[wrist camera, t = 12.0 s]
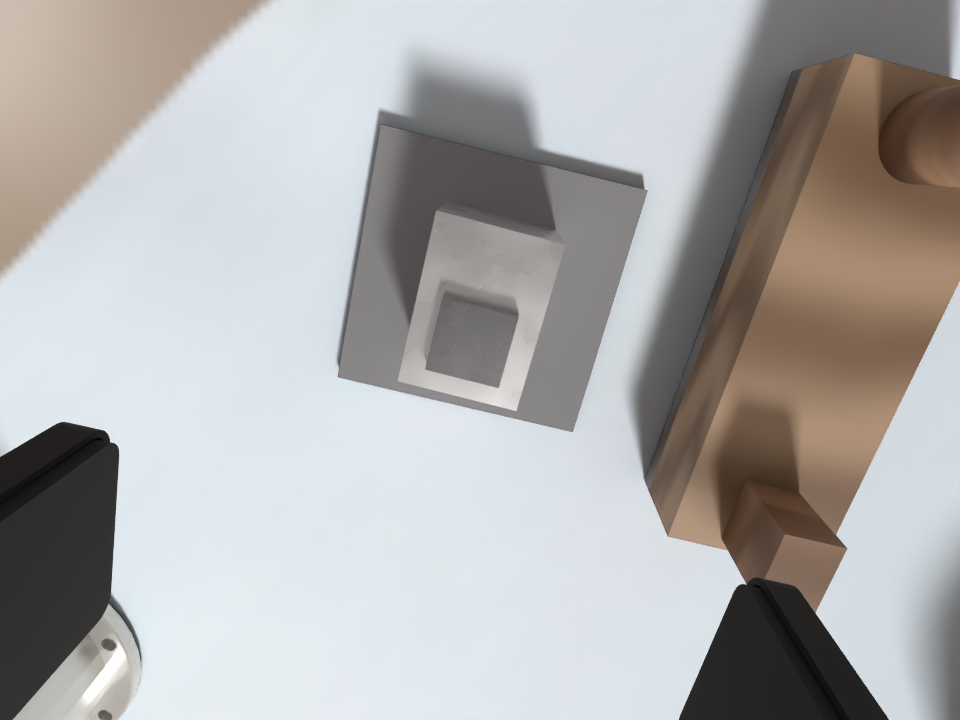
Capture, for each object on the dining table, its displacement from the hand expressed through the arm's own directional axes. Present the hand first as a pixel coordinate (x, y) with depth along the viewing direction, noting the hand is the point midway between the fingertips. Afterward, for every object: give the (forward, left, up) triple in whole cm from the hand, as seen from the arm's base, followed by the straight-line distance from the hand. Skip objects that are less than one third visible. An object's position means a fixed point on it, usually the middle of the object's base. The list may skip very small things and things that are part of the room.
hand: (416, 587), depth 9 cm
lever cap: (0, 0, -21) cm, 21 cm away
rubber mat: (0, 0, -22) cm, 22 cm away
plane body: (+2, -14, -22) cm, 26 cm away
